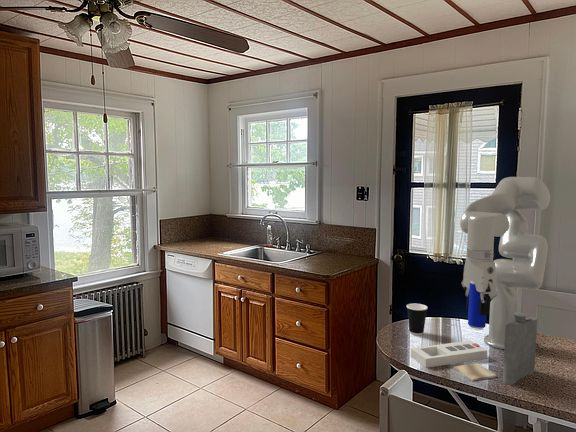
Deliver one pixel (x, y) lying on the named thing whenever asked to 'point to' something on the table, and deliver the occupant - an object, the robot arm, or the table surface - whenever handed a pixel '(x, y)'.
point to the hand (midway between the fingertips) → (477, 311)
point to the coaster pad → (475, 371)
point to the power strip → (448, 353)
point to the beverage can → (475, 308)
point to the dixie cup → (416, 318)
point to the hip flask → (519, 348)
